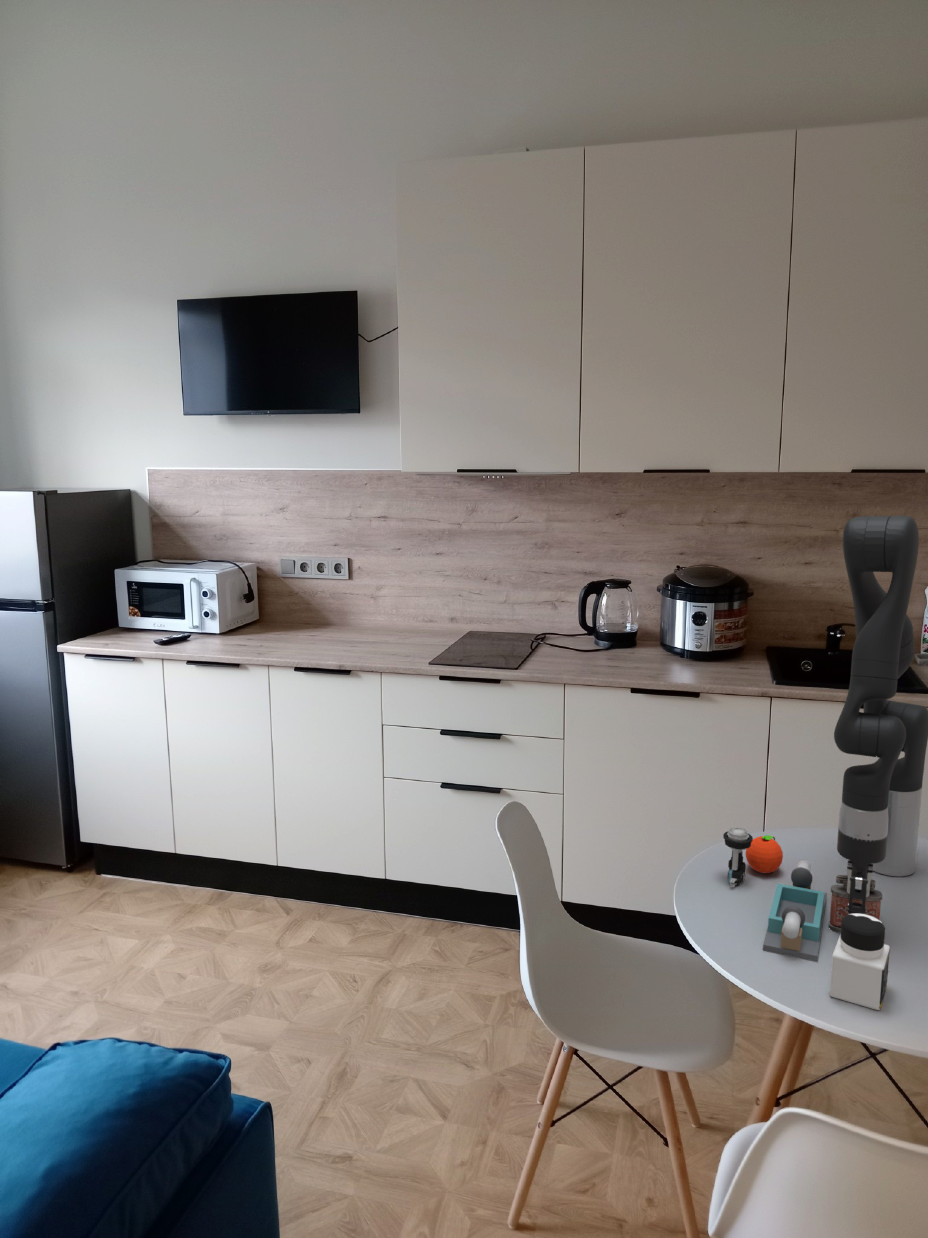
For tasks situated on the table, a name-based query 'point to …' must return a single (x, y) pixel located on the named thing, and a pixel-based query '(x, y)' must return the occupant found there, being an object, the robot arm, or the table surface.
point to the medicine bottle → (860, 962)
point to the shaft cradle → (796, 917)
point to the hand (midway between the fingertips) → (856, 917)
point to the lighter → (842, 900)
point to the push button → (737, 853)
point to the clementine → (764, 854)
